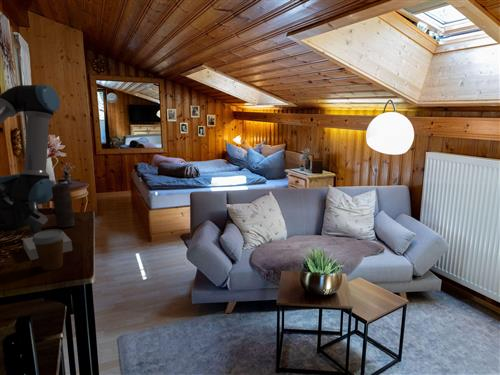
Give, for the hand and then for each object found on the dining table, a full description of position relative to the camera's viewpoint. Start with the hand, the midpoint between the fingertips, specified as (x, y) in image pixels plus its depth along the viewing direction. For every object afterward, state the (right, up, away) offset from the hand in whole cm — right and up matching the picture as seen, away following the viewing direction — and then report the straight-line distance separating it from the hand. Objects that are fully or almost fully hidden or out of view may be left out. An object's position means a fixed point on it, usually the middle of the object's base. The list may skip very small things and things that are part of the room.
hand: (44, 220), depth 150 cm
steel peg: (-3, -5, -1) cm, 6 cm away
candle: (+1, -5, +14) cm, 15 cm away
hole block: (+8, -10, -12) cm, 18 cm away
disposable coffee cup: (+18, -14, -27) cm, 35 cm away
